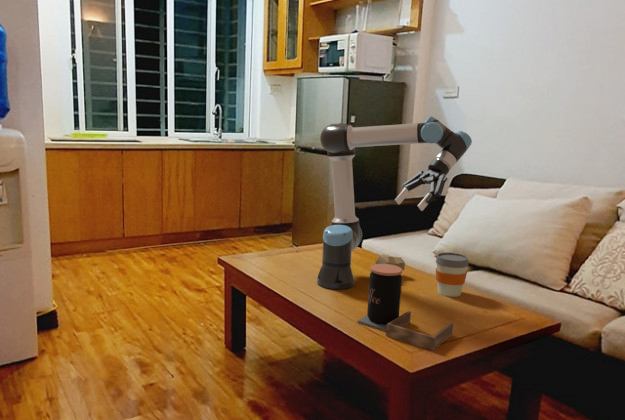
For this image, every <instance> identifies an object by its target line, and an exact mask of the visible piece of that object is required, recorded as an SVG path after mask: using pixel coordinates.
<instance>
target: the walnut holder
mask: <svg viewBox="0 0 625 420" xmlns="http://www.w3.org/2000/svg"><path fill="white" fill-rule="evenodd" d="M411 314H412V311H410V310H407V311H406V312H404V313H403V314H401V315H399V317H397V318H396V319H394V320H393V321H391V322H389V323H388V324H387V329H386V331H385V333H386V334H385V336H386V337H389V338H391V339H395V340H398V341H401V342H405V343H408V344H411V345H414V346H418V347H420V348H422V349H426V350H430V351H435V350H436V349H437V348H439V346H441V345H442V344H443V343H445V342H446V341H447V340H448V339H449V338H450V337H452V336H453V333H454V332H453V330H454V323H453V322H449V323H448V324H447V325H445V326H444V327H442V329H440V330H439V331H437V332H436V333H435V334H433V335H429V334H427V333H426V334H425V333H424V332H419V331H416V330H413V329H410V328H405V327H406V326H407V325H409V324H411Z"/></svg>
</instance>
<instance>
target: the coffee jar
mask: <svg viewBox="0 0 625 420" xmlns="http://www.w3.org/2000/svg"><path fill="white" fill-rule="evenodd" d="M370 271H371V272H370V273H369V284H368V296H367V297H368V298H367V314H366V316H368V318H369V319H370V321H372V322H374V323H377V324H383V325H387V324H388V323H389V322H391V321H393V320H394V319H396V318H397V317H399V316H400V308H401V307H400V306H401V296H402V295H401V292H402V284H403V283H402V281H403V277H402V273H403V271H402V268H400V267H398V266H395V265H391V264H375V263H374V264H372V265H371V266H370Z"/></svg>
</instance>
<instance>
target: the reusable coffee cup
mask: <svg viewBox="0 0 625 420" xmlns="http://www.w3.org/2000/svg"><path fill="white" fill-rule="evenodd" d="M435 263H436V268H435V280H436V281H437V293H438V294H440V295H441V296H444V297H456V298H457V297H460V296H461V295H462V290H463V287H464V284H465V282H466V279H467V275H468V271H467V269H468V267H469V256H467V255H465V254H460V253H456V252H439V253H437V254H436V259H435Z"/></svg>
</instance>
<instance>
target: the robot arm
mask: <svg viewBox="0 0 625 420" xmlns="http://www.w3.org/2000/svg"><path fill="white" fill-rule="evenodd" d="M319 137H320V138H319V139H320V140H319V141H320V144H321V146H322V148H323V149H324V150H325V151H327V152H326V153H327V158H328V159H329V160H330V161H331V175H332V190H333V204H334V205H333V207H334V218H332V219H331V225H329V226H326V228H324V231H323V234H322V257H321V258H322V263H321V266H320V267H321V268H320V269H319V271H318V275H317V279H316V283H317V285H318V286H320V287H322V288H325V289H330V290H346V289H351V288H352V287H354V285H355V278H354V274H353V270H352V267H351V265H352V251H354V250H356V248H357V247H358V246H359V245H360V243H361V242H362V238H363V232H362V229H361V226H360V219H359V217H357V216H356V208H355V191H354V190H355V189H354V174H353V159H354V157H355V156H356V148H363V147H366V148H367V147H375V146H376V147H378V146H380V147H381V146H382V147H383V146H396V145H399V146H400V145H415V144H436V145H438V147H440V148H441V150H440V151H439V152H438V154H436V156H435V157H434V159H432V160H431V162H430V163H429V164H428V167H427V170H426V171H424V170H423V169H420V170H419V172H418V173H417V174H415V175H413V176H412V177H410V178H409V179H408V180H406V181H405V182H403V184H402V185H401V186H402V187H403V188H402V190H401V191H400V192H399V194H398V195H397V196H396V198H394V201H395V202H396V203H397V204H398V205H401V204H402V202H403V201H404V200H405V199H406V198H407V197H408V195H409V194H410V191H412V190H414V189H416V188H418V187H419V186H422V185H425V184H426V185H429V186H430V191H429V192H428V193H427V194H426V195H425V196H424V198H422V199H421V201H420V202H419V203H418V204H417V207H418V209H419V211H421V212H423V211H424V210H425V208H427V206H428V205H429V204H430V203H432V201H433V200H434V199H435V198H438V199H439V198H441V197H442V193H443V190H444V186H445V184H446V182H447V181H448V177H447V175H448V174H449V173H450V171H451V170H452V169H453V167H455V165H456V164H457V163H458V162H459V160H460V159H461V158H462V157H463V156H464V154H465V153H466V152H467V151H468V150H469V148H470V147H471V145H472V143H473V141H472V137H471V136H470V135H469V133H466V132H464V131H462V130H458V131H456V132H454V131H453V130H451V129H450V128H448V127H447V126H446V125H445V124H443V123H442V122H441V121H439V119H437V118H436V117H434V116H428V118H427V119H426V120H425V121H424V122H420V123H419V122H418V123H417V122H415V123H402V124H389V125H387V124H386V125H372V126H370V125H369V126H357V127H356V126H355V127H354V126H352V125H351V124H350V125H349V124H347V123H341V122H340V123H331V124H328V125H327V126H325V127H324V128H323V129H322V130H321V132H320V136H319Z"/></svg>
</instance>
